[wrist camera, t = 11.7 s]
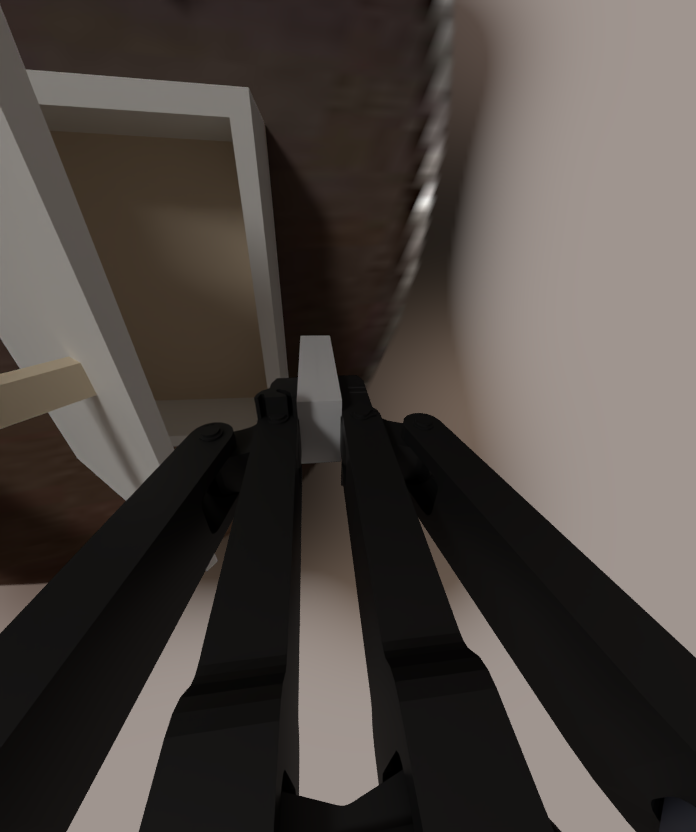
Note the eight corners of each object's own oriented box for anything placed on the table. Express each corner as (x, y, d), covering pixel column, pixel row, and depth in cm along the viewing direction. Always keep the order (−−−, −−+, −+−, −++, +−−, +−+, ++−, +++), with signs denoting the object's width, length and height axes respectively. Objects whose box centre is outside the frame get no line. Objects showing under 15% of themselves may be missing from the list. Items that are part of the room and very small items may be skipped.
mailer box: (129, 407, 33) (88, 450, 27) (-8, 106, 20) (-150, 55, 14) (290, 401, 35) (287, 440, 29) (265, 124, 22) (248, 87, 16)
